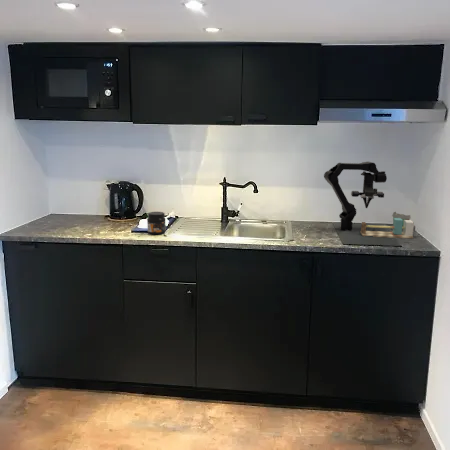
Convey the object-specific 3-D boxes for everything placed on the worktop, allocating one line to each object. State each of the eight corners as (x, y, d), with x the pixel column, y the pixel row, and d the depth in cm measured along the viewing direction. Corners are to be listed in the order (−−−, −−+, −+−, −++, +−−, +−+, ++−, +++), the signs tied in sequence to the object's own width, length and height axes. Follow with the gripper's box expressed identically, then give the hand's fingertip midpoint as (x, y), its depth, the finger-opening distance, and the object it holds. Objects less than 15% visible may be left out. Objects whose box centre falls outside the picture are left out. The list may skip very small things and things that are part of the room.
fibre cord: (364, 227, 277) (364, 225, 277) (364, 227, 279) (364, 224, 278) (405, 229, 274) (405, 226, 274) (405, 228, 276) (405, 226, 275)
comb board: (362, 236, 274) (363, 224, 273) (360, 232, 284) (361, 220, 282) (412, 238, 271) (414, 226, 269) (408, 234, 280) (409, 222, 279)
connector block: (405, 235, 272) (406, 222, 271) (402, 233, 279) (403, 219, 277) (415, 236, 272) (416, 222, 270) (412, 233, 278) (413, 220, 277)
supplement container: (145, 235, 272) (145, 214, 269) (149, 230, 282) (149, 211, 279) (163, 235, 271) (163, 215, 268) (167, 231, 281) (167, 211, 278)
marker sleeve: (394, 234, 274) (395, 220, 272) (392, 231, 279) (393, 217, 277) (401, 234, 273) (403, 220, 271) (399, 232, 279) (400, 218, 277)
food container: (386, 228, 295) (388, 212, 293) (393, 227, 298) (395, 211, 296) (401, 232, 285) (403, 216, 282) (409, 231, 288) (410, 215, 285)
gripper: (354, 184, 280) (352, 210, 284) (386, 185, 277) (384, 211, 281) (352, 181, 291) (350, 206, 294) (383, 182, 288) (381, 207, 292)
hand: (366, 208), depth 290 cm, fingers closed
